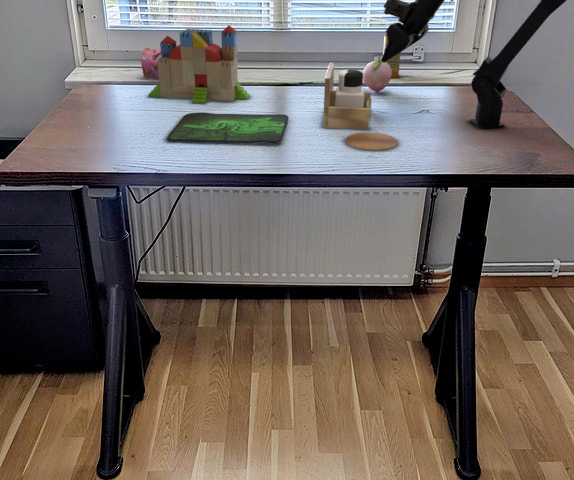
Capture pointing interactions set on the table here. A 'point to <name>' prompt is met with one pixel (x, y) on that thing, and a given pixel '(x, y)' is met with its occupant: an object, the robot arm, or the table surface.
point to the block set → (199, 67)
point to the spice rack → (343, 108)
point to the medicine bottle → (350, 89)
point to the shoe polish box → (392, 60)
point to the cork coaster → (371, 141)
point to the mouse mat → (230, 128)
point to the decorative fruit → (377, 75)
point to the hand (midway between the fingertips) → (388, 57)
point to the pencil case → (150, 62)
